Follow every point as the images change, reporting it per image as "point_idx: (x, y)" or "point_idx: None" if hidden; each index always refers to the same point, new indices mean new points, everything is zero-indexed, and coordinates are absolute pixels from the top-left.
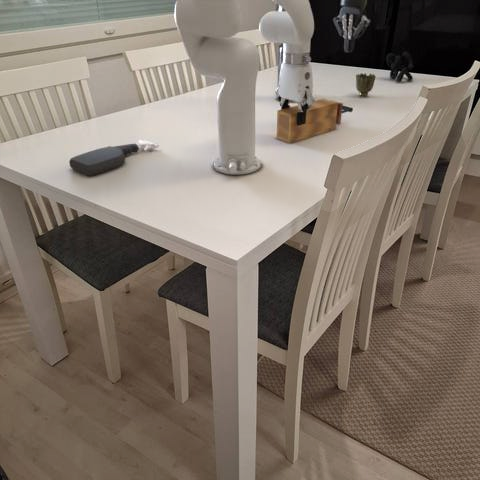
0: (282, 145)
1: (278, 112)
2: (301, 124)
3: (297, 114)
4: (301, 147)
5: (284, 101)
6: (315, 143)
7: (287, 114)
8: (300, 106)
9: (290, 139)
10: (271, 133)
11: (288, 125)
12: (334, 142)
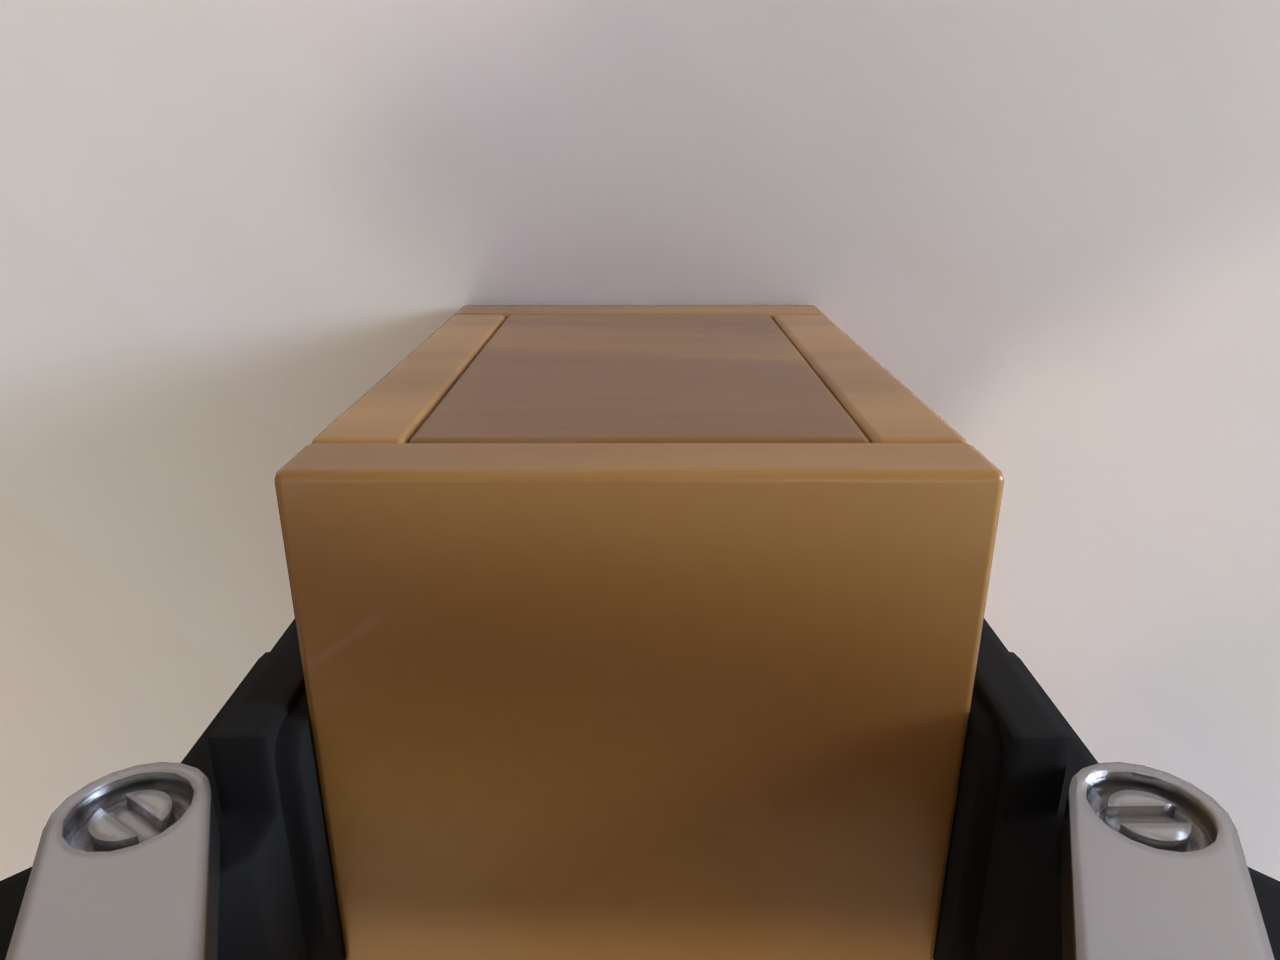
0: (468, 127)
1: (919, 452)
2: None
3: (286, 688)
4: (198, 316)
5: (1069, 955)
6: (230, 602)
7: (472, 464)
8: (44, 919)
9: (447, 321)
10: (1057, 413)
11: (464, 374)
12: None
